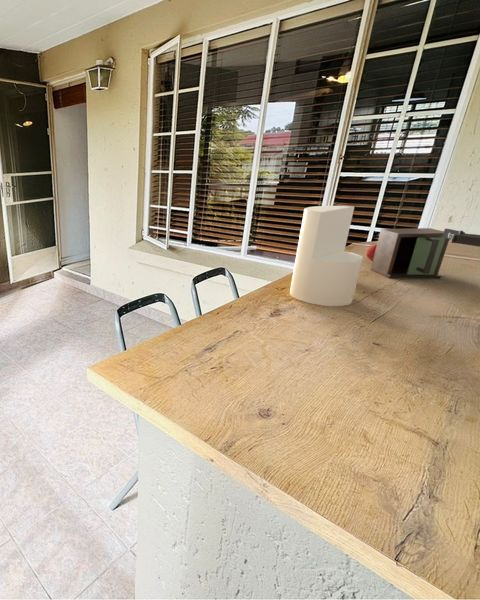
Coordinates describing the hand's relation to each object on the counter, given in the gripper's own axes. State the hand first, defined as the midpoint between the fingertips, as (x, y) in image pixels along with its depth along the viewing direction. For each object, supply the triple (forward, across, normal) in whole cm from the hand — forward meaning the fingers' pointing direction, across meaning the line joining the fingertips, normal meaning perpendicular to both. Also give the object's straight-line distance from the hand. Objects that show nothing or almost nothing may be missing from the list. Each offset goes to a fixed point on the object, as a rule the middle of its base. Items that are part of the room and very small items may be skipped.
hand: (470, 232), depth 107 cm
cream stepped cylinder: (-7, -41, -19) cm, 46 cm away
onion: (+37, -3, -19) cm, 42 cm away
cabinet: (+20, -2, -19) cm, 28 cm away
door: (+12, 0, -18) cm, 21 cm away
